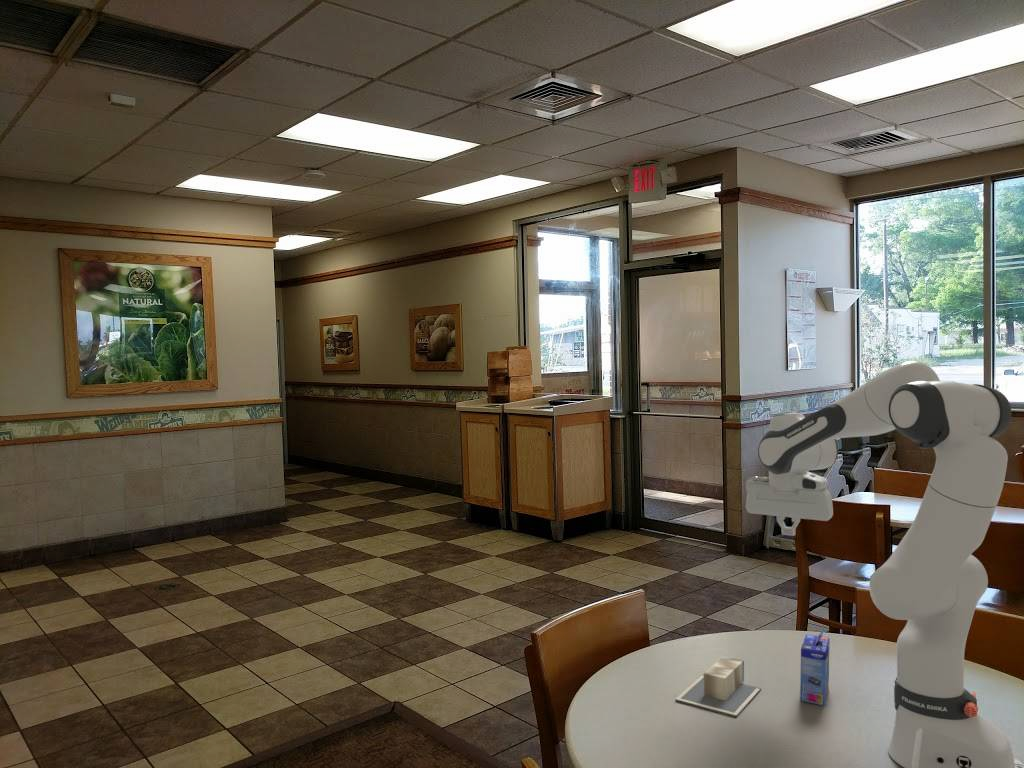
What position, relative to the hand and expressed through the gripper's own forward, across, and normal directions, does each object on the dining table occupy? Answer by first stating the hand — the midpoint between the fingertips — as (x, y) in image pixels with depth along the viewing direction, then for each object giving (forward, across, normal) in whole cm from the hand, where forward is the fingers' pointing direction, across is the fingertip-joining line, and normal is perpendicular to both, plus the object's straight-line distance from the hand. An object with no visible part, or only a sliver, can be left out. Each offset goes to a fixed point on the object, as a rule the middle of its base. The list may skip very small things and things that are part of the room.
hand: (788, 534), depth 183 cm
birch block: (+30, -9, -14) cm, 35 cm away
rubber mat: (+33, -9, -24) cm, 42 cm away
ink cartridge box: (+33, +9, -12) cm, 37 cm away
